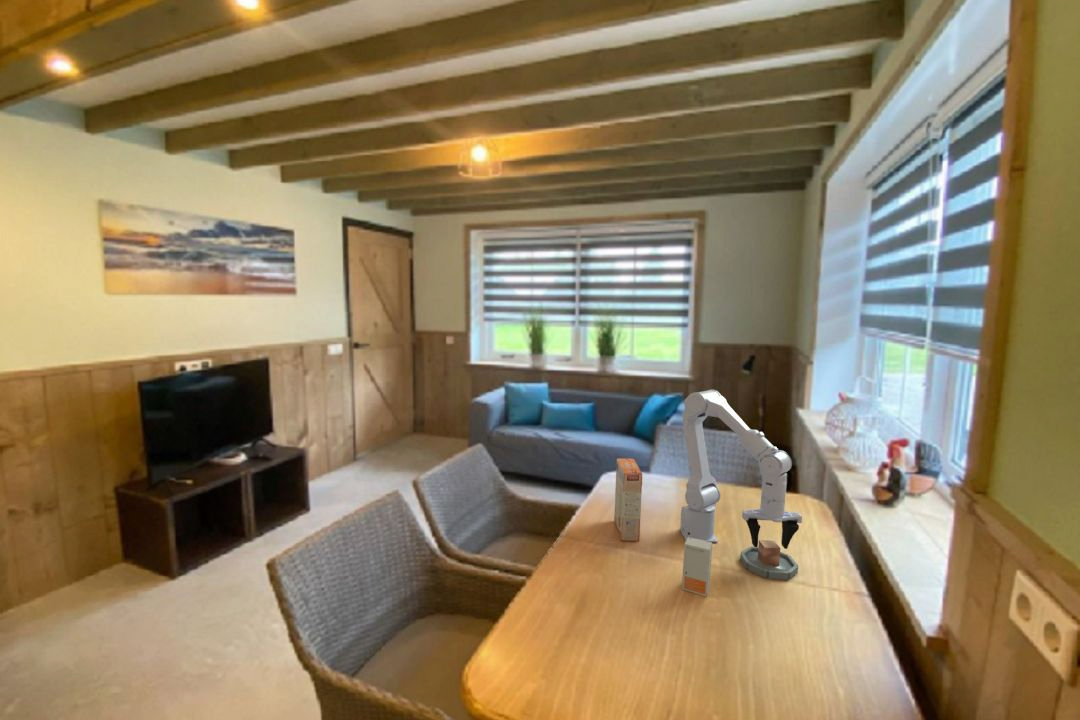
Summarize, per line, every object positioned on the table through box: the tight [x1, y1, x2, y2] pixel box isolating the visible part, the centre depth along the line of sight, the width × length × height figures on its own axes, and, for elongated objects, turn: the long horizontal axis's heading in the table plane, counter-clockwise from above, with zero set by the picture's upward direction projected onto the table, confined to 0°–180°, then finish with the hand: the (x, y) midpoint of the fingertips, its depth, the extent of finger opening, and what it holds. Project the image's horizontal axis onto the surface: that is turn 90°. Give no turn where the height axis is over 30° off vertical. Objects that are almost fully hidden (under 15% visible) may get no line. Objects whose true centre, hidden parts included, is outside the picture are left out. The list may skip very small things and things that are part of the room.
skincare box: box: [681, 537, 714, 597], centre depth 115 cm, size 6×4×12 cm
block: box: [757, 539, 781, 566], centre depth 127 cm, size 4×4×5 cm
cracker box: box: [613, 458, 643, 542], centre depth 145 cm, size 14×6×21 cm, turn 179°
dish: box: [739, 545, 799, 581], centre depth 127 cm, size 13×13×2 cm
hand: (769, 546), depth 127 cm, fingers open, 7 cm apart
